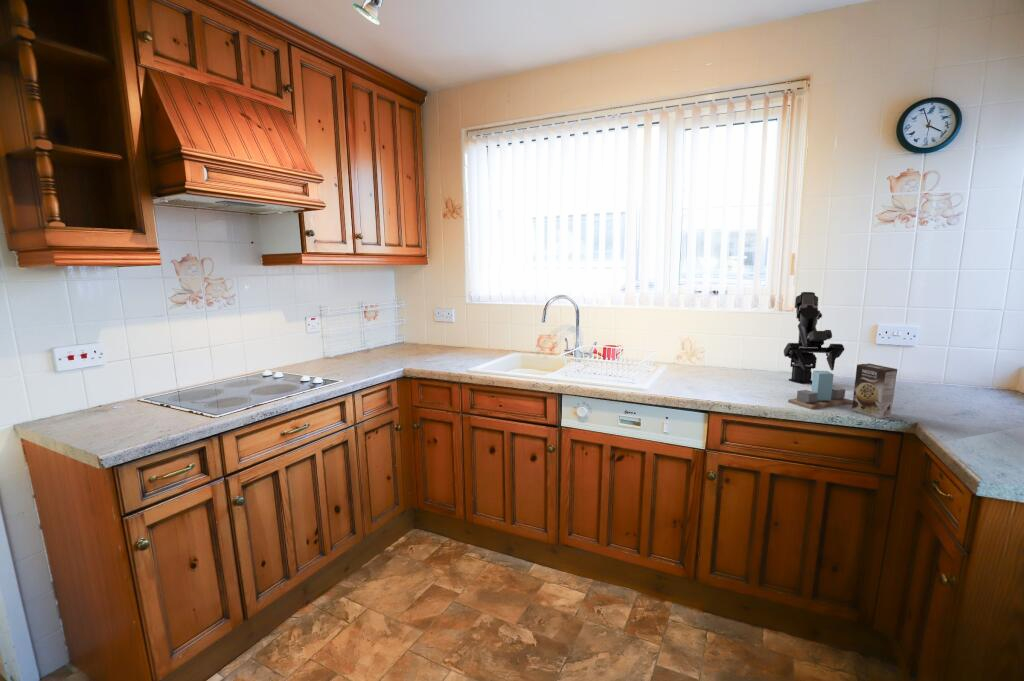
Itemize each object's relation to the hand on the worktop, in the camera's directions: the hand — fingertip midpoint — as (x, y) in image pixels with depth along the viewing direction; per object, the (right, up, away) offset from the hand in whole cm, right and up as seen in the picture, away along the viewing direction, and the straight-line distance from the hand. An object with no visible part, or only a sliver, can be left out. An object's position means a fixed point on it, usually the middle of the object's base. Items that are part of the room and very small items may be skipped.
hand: (818, 369), depth 174 cm
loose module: (-1, -10, -2) cm, 10 cm away
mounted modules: (-1, -10, -2) cm, 10 cm away
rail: (-1, -12, -2) cm, 12 cm away
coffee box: (+8, -14, -15) cm, 22 cm away
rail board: (-1, -12, -2) cm, 12 cm away
